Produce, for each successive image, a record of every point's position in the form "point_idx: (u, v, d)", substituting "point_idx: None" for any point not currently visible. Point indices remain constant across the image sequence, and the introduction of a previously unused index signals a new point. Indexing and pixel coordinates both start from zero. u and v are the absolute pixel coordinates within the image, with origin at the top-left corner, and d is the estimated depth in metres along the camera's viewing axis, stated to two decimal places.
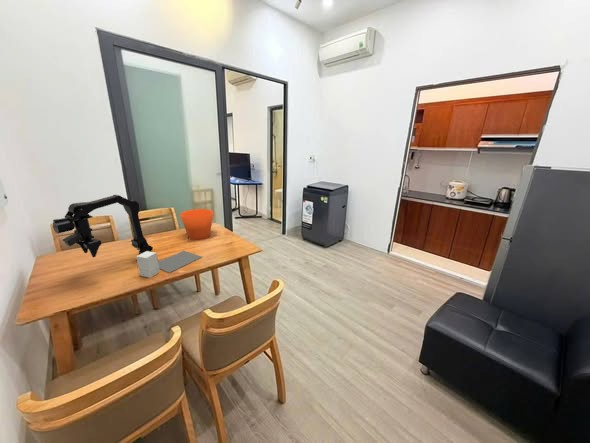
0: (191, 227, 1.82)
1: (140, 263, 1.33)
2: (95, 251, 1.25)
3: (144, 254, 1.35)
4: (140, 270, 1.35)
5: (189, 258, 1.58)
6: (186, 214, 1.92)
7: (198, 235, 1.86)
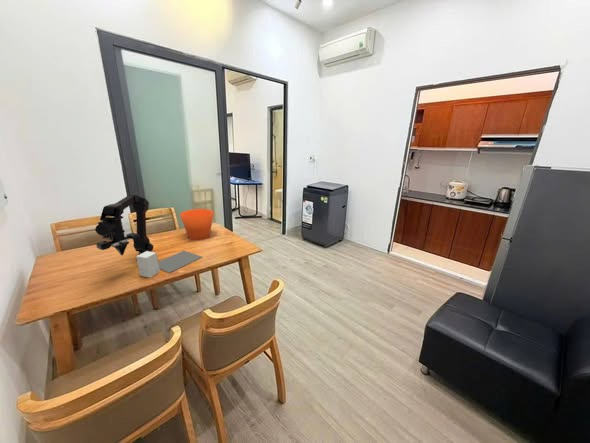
0: (191, 227, 1.82)
1: (140, 263, 1.33)
2: (119, 250, 1.30)
3: (144, 254, 1.35)
4: (140, 270, 1.35)
5: (189, 258, 1.58)
6: (186, 214, 1.92)
7: (198, 235, 1.86)
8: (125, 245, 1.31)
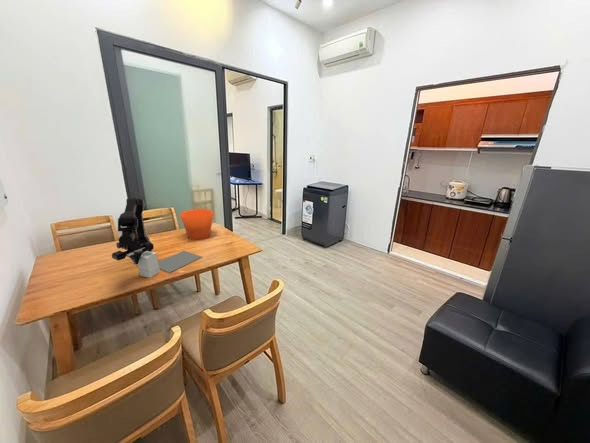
0: (191, 227, 1.82)
1: (140, 263, 1.33)
2: (133, 260, 1.29)
3: (144, 254, 1.35)
4: (140, 270, 1.35)
5: (189, 258, 1.58)
6: (186, 214, 1.92)
7: (198, 235, 1.86)
8: (140, 255, 1.29)
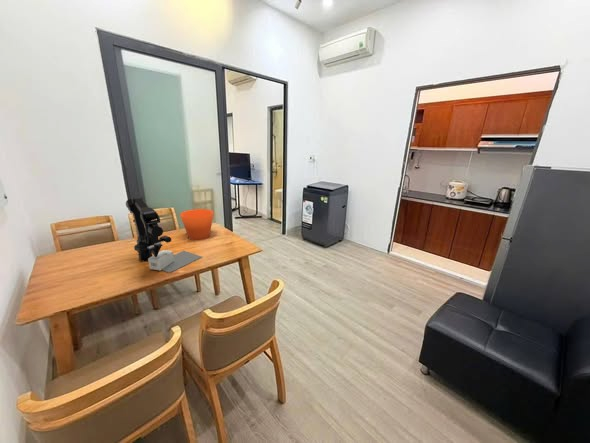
0: (191, 227, 1.82)
1: (162, 252, 1.48)
2: (153, 252, 1.38)
3: None
4: None
5: (189, 258, 1.58)
6: (186, 214, 1.92)
7: (198, 235, 1.86)
8: (159, 247, 1.39)
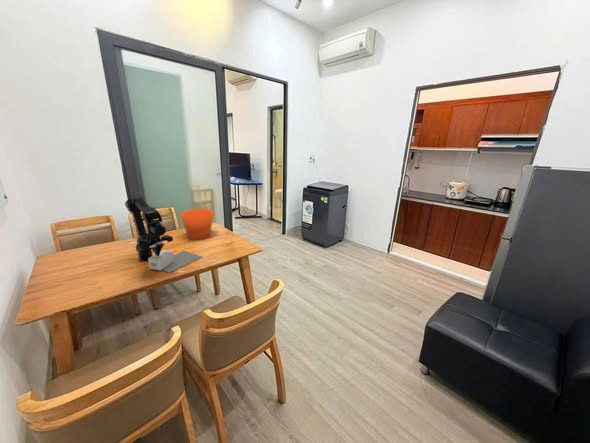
0: (191, 227, 1.82)
1: (162, 252, 1.48)
2: (155, 252, 1.39)
3: None
4: (154, 255, 1.44)
5: (189, 258, 1.58)
6: (186, 214, 1.92)
7: (198, 235, 1.86)
8: (161, 247, 1.40)
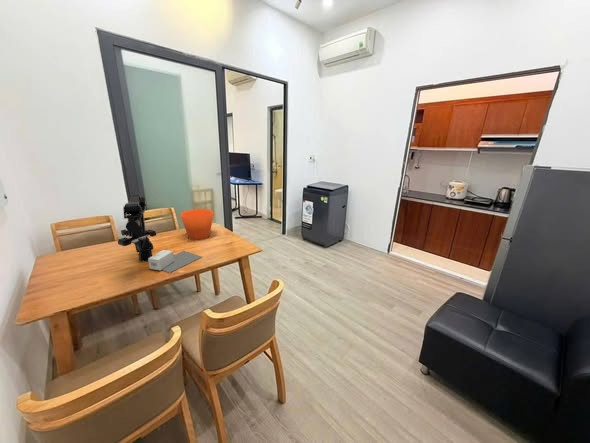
0: (191, 227, 1.82)
1: (162, 252, 1.48)
2: (138, 246, 1.36)
3: None
4: (154, 255, 1.44)
5: (189, 258, 1.58)
6: (186, 214, 1.92)
7: (198, 235, 1.86)
8: (144, 241, 1.37)
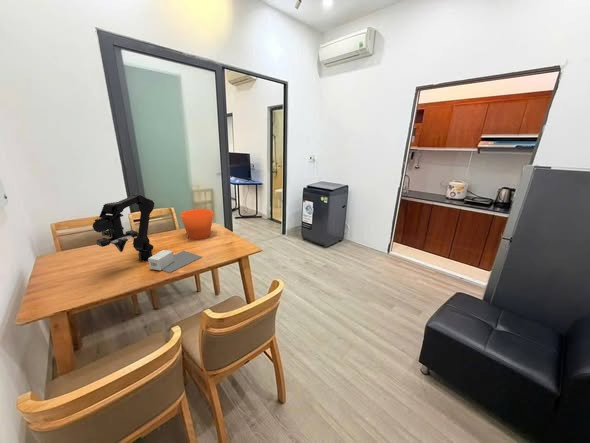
0: (191, 227, 1.82)
1: (162, 252, 1.48)
2: (118, 247, 1.34)
3: None
4: (154, 255, 1.44)
5: (189, 258, 1.58)
6: (186, 214, 1.92)
7: (198, 235, 1.86)
8: (124, 242, 1.35)
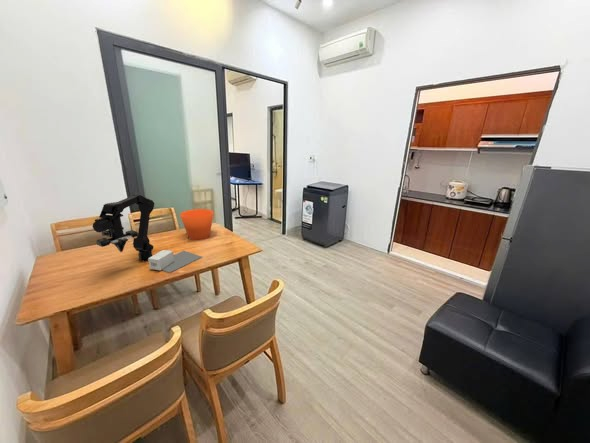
0: (191, 227, 1.82)
1: (162, 252, 1.48)
2: (118, 247, 1.34)
3: None
4: (154, 255, 1.44)
5: (189, 258, 1.58)
6: (186, 214, 1.92)
7: (198, 235, 1.86)
8: (124, 242, 1.35)
